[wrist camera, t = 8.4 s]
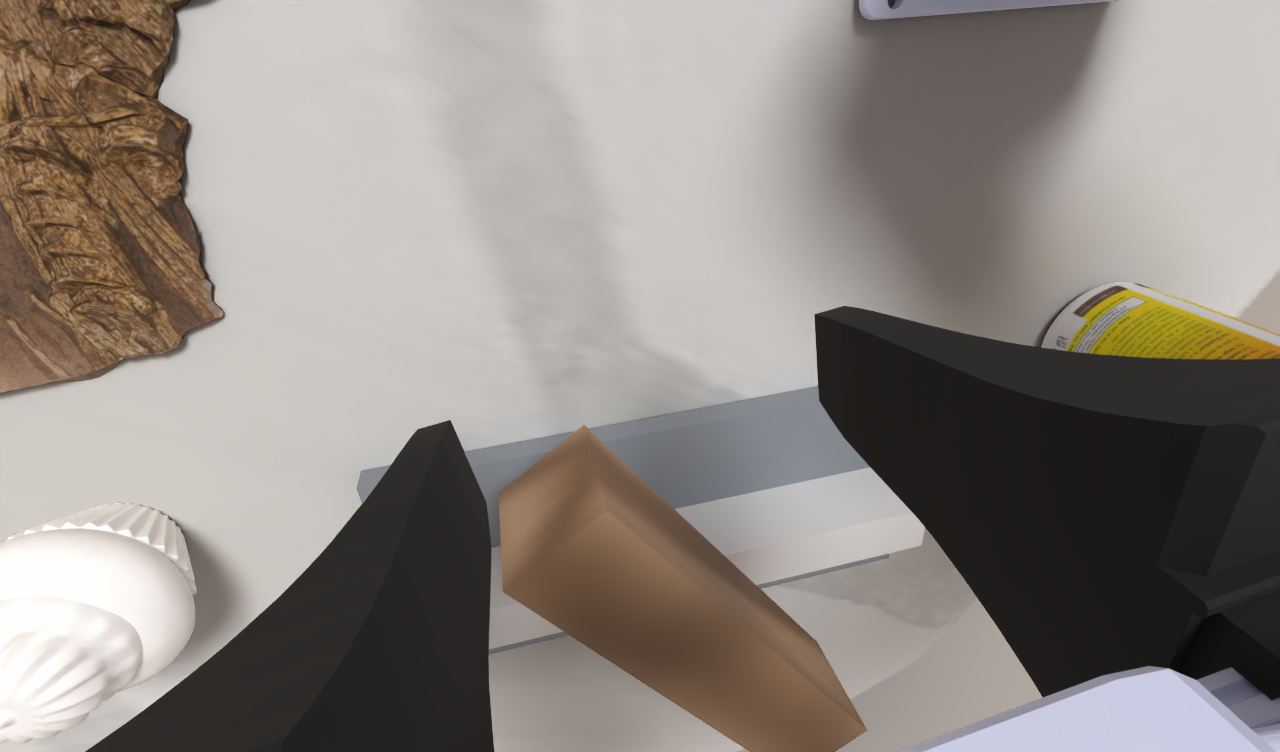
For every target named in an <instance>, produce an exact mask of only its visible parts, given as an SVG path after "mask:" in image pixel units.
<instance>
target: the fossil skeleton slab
mask: <svg viewBox="0 0 1280 752" xmlns="http://www.w3.org/2000/svg"><path fill="white" fill-rule="evenodd" d="M190 1H191V0H0V393H2V392H7V391H12V390H17V389H21V388H27V387H33V386H38V385H43V384H49V383H56V382H67V381H82V380H88V379H94V378H98V377H100V376H102V375H104V374H106V373H107V372H109V371H111V370H113V369H114V368H115V367H116V366H117V365H118V364H119V363H120V362H119V361H121V360H123V359H130V358H136V357H138V356H141V355H150V354H162V353H165V352H167V351H170V350H172V349H174V348H176V347H177V346H178V345H179V344H180V342H181V340H182V338H183V336H184V335H185V333H186V331H187V330H189V329H191V328H194V327H196V326H198V325H201V324H204V323H207V322H209V321H211V320H213V319H216V318H220V317H222V315H223V314H224V313H223V311H222V309H221V308H220V307H219V306H218V305H217V304H216V303H215V302H214V300H213V296H212V285H213V284H212V283H211V281H210V280H209V279H208V278H207V277H206V272H205V270H204V269H203V268H202V266H201V264H200V262H199V258H200V256H201V245H200V239H199V236H198V228H194V223H193V220H192V219H191V217H190V215H189V213H188V210H187V208H186V205H185V204H184V203H183V201H182V198H181V195H180V193H181V191H182V190H183V189H182V186H181V184H180V181H179V179H180V178H181V176H182V174H183V172H184V171H185V169H186V168H185V164H184V160H183V145H184V143H185V139H186V135H187V130H188V120H187V119H186V118H184V117H182V116H181V115H179V114H177V113H176V112H174V111H173V110H171V109H169V108H168V107H166V106H165V105H163V104H162V103H160V102H159V101H158V90H159V87H160V85H161V83H162V81H163V68H164V67H165V66H166V65H167V64H168V61H169V56H170V52H171V48H172V44H173V28H174V26H175V24H176V21H177V20H176V18H175V16H174V9H177V8H179V7H182V6H184V5H186V4H188V3H189V2H190Z"/></svg>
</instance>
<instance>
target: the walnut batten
mask: <svg viewBox="0 0 1280 752" xmlns="http://www.w3.org/2000/svg"><path fill="white" fill-rule="evenodd" d="M499 515H500V539H501V562H502V586H503V592H504V593H505V594H507V595H508V596H510V597H511V598H513V599H515V600H516V601H518V602H519V603H521V604H522V605H524V606H525V607H527V608H528V609H530V610H532V611H533V612H535V613H536V614H538V615H539V616H541V617H542V618H544V619H546V620H547V621H549V622H550V623H552V624H553V625H555V626H556V627H558V628H559V629H561V630H563V631H564V632H566V633H567V634H569V635H570V636H572V637H573V638H575V639H576V640H578V641H580V642H581V643H583V644H584V645H586V646H587V647H589V648H590V649H592V650H593V651H595V652H597V653H598V654H600V655H601V656H603V657H604V658H606V659H607V660H609V661H611V662H612V663H614V664H615V665H617V666H618V667H620V668H621V669H623V670H624V671H626V672H628V673H629V674H631V675H632V676H634V677H635V678H637V679H638V680H640V681H641V682H643V683H645V684H646V685H648V686H649V687H651V688H652V689H654V690H655V691H657V692H659V693H660V694H662V695H663V696H665V697H666V698H668V699H669V700H671V701H672V702H674V703H676V704H677V705H679V706H680V707H682V708H683V709H685V710H686V711H688V712H689V713H691V714H693V715H694V716H696V717H697V718H699V719H700V720H702V721H703V722H705V723H706V724H708V725H710V726H711V727H713V728H714V729H716V730H717V731H719V732H720V733H722V734H724V735H725V736H727V737H728V738H730V739H731V740H733V741H734V742H736V743H737V744H739V745H741V746H742V747H744V748H745V749H747V750H748V751H750V752H835V751H837V750H838V749H840V748H841V747H843V746H844V745H846V744H847V743H849V742H850V741H852V740H853V739H855V738H856V737H858V736H859V735H861V734H863V733H864V732H865V731H867V729H866V727H865V726H864V724H863V722H862V720H861V719H860V717H859V715H858V713H857V712H856V710H855V708H854V706H853V705H852V703H851V701H850V699H849V697H848V696H847V694H846V692H845V690H844V689H843V687H842V685H841V683H840V682H839V680H838V678H837V676H836V675H835V673H834V671H833V669H832V667H831V666H830V664H829V662H828V660H827V659H826V657H825V655H824V653H823V652H822V650H821V648H820V646H819V645H818V643H817V641H815V640H814V639H813V638H812V637H811V636H810V635H809V634H808V633H807V632H806V631H805V630H804V629H803V628H801V627H800V626H799V625H798V624H797V623H796V622H795V621H794V620H793V619H792V618H791V617H790V616H789V615H788V614H786V613H785V612H784V611H783V610H782V609H781V608H780V607H779V606H778V605H777V604H776V603H775V602H774V601H772V600H771V599H770V598H769V597H768V596H767V595H766V594H765V593H764V592H763V591H762V590H761V589H760V588H759V587H757V586H756V585H755V584H754V583H753V582H752V581H751V580H750V579H749V578H748V577H747V576H746V575H745V574H743V573H742V572H741V571H740V570H739V569H738V568H737V567H736V566H735V565H734V564H733V563H732V562H731V561H730V560H728V559H727V558H726V557H725V556H724V555H723V554H722V553H721V552H720V551H719V550H718V549H717V548H716V547H714V546H713V545H712V544H711V543H710V542H709V541H708V540H707V539H706V538H705V537H704V536H703V535H702V534H701V533H699V532H698V531H697V530H696V529H695V528H694V527H693V526H692V525H691V524H690V523H689V522H688V521H687V520H685V519H684V518H683V517H682V516H681V515H680V514H679V513H678V512H677V511H676V510H675V509H674V508H673V507H672V506H670V505H669V504H668V503H667V502H666V501H665V500H664V499H663V498H662V497H661V496H660V495H659V494H658V493H656V492H655V491H654V490H653V489H652V488H651V487H650V486H649V485H648V484H647V483H646V482H645V481H644V480H643V479H641V478H640V477H639V476H638V475H637V474H636V473H635V472H634V471H633V470H632V469H631V468H630V467H629V466H627V465H626V464H625V463H624V462H623V461H622V460H621V459H620V458H619V457H618V456H617V455H616V454H615V453H614V452H612V451H611V450H610V449H609V448H608V447H607V446H606V445H605V444H604V443H603V442H602V441H601V440H600V439H598V438H597V437H596V436H595V435H594V434H593V433H592V432H591V431H590V430H589V429H588V428H587V427H586V426H585V425H583V426H582V427H581V428H580V429H578V430H577V431H576V432H575V433H573V434H572V435H571V436H570V437H568V438H567V439H566V440H565V441H563V442H562V443H561V444H560V445H558V446H557V447H556V448H555V449H553V450H552V451H551V452H550V453H548V454H547V455H546V456H545V457H543V458H542V459H541V460H540V461H538V462H537V463H536V464H535V465H533V466H532V467H531V468H530V469H528V470H527V471H526V472H525V473H523V474H522V475H521V476H519V477H518V478H517V479H516V480H514V481H513V482H512V483H511V484H509V485H508V486H507V487H506V488H504V489H503V490H502V491H501V492H499Z"/></svg>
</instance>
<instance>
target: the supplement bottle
mask: <svg viewBox="0 0 1280 752" xmlns="http://www.w3.org/2000/svg"><path fill="white" fill-rule="evenodd" d="M1041 348H1048V349H1055V350H1063V351H1070V352H1080V353H1090V354H1101V355H1115V356H1130V357H1144V358H1169V359H1274V358H1280V334H1278V333H1275V332H1272V331H1269V330H1267V329H1264V328H1261V327H1258V326H1256V325H1253V324H1250V323H1247V322H1244V321H1242V320H1239V319H1236V318H1234V317H1231V316H1228V315H1225V314H1223V313H1220V312H1217V311H1214V310H1211V309H1208V308H1205V307H1203V306H1200V305H1197V304H1195V303H1192V302H1189V301H1186V300H1184V299H1180V298H1177V297H1175V296H1172V295H1169V294H1166V293H1163V292H1160V291H1158V290H1155V289H1152V288H1149V287H1146V286H1143V285H1140V284H1136V283H1132V282H1112V283H1108V284H1104V285H1101V286H1098V287H1096V288H1093V289H1091V290H1089V291H1088V292H1086V293H1084V294H1083V295H1081V296H1079V297H1078V298H1077V299H1075V300H1074V301H1073V302H1071V303H1070V304H1069V305H1068V306H1067V307H1066V308H1065V309H1064V310H1063V311H1062V312H1061V313H1060V314H1059V315H1058V317H1057V318H1056V319H1055V321H1054V322H1053V323H1052V325H1051V326H1050V328H1049V330H1048V331H1047V334H1046V336H1045V338H1044V340H1043V343H1042V346H1041Z"/></svg>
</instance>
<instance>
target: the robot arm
mask: <svg viewBox="0 0 1280 752" xmlns="http://www.w3.org/2000/svg"><path fill="white" fill-rule="evenodd" d="M1110 1H1117V0H896V1H895V4H894V5H893V7H892V8H890V7H889V5H888V0H859V10H860V12H861V14H862V16H863V17H865V18H866V19H869V20H879V19H892V18H905V17H917V16H930V15H943V14H956V13H969V12H982V11H994V10H1007V9H1020V8H1033V7H1046V6H1059V5H1071V4H1084V3H1097V2H1110ZM815 330H816V350H817V369H818V389H819V401H820V403H821V404H822V406H823V408H824V409H825V411H826V412H827V414H828V415H829V417H830V418H831V420H832V421H833V423H834V424H835V426H836V427H837V429H838V430H839V431H840V433H841V434H842V436H843V437H844V438H845V440H846V441H847V442H848V443H849V444H850V445H851V446H852V448H853V449H854V450H855V451H856V452H857V453H858V454H859V455H860V456H861V457H862V459H863V460H864V461H865V462H866V463H867V464H868V465H869V466H870V467H871V468H872V470H873V471H874V472H875V473H876V474H877V475H878V476H879V477H880V478H881V479H882V480H883V481H884V482H885V484H886V485H887V486H888V487H889V488H890V489H891V490H892V491H893V492H894V493H895V494H896V495H897V496H898V498H899V499H900V500H901V501H902V502H903V503H904V504H905V505H906V506H907V507H908V508H909V509H910V511H911V512H912V513H913V514H914V515H915V516H916V517H917V518H918V519H919V521H920V522H921V523H922V524H923V525H924V526H925V528H926V529H927V530H928V531H929V532H930V534H931V535H932V536H933V537H934V539H935V540H936V541H937V543H938V544H939V545H940V547H941V548H942V549H943V551H944V552H945V554H946V555H947V556H948V558H949V559H950V560H951V562H952V563H953V564H954V566H955V567H956V568H957V570H958V571H959V572H960V574H961V575H962V576H963V578H964V579H965V581H966V582H967V584H968V585H969V586H970V588H971V589H972V591H973V592H974V594H975V595H976V596H977V598H978V599H979V601H980V602H981V603H982V605H983V606H984V608H985V609H986V611H987V612H988V614H989V615H990V617H991V618H992V619H993V621H994V622H995V624H996V625H997V627H998V628H999V630H1000V631H1001V633H1002V634H1003V636H1004V637H1005V639H1006V641H1007V642H1008V644H1009V645H1010V646H1011V648H1012V650H1013V651H1014V653H1015V654H1016V656H1017V657H1018V659H1019V660H1020V662H1021V663H1022V665H1023V666H1024V668H1025V670H1026V671H1027V673H1028V674H1029V676H1030V677H1031V679H1032V680H1033V682H1034V683H1035V685H1036V687H1037V689H1038V690H1039V692H1040V693H1041V695H1042V697H1043V698H1041V699H1038V700H1036V701H1033V702H1030V703H1027V704H1025V705H1022V706H1020V707H1016V708H1014V709H1011V710H1009V711H1006V712H1003V713H1000V714H998V715H995V716H992V717H990V718H987V719H984V720H982V721H979V722H976V723H973V724H971V725H968V726H965V727H963V728H960V729H957V730H955V731H952V732H949V733H946V734H944V735H941V736H938V737H936V738H933V739H930V740H927V741H925V742H922V743H920V744H917V745H914V746H911V747H909V748H906V749H903V750H901V751H898V752H1280V358H1274V359H1169V358H1144V357H1130V356H1115V355H1101V354H1090V353H1080V352H1070V351H1063V350H1055V349H1048V348H1040V347H1033V346H1026V345H1020V344H1014V343H1008V342H1003V341H998V340H993V339H988V338H983V337H978V336H973V335H968V334H964V333H959V332H955V331H950V330H946V329H942V328H938V327H934V326H930V325H926V324H922V323H918V322H914V321H910V320H906V319H902V318H898V317H894V316H890V315H886V314H882V313H878V312H874V311H869V310H865V309H860V308H854V307H847V306H842V307H839V308H835V309H832V310H828V311H825V312H821V313H818V314H815ZM491 553H492V548H491V538H490V528H489V519H488V511H487V503H486V500H485V498H484V496H483V493H482V491H481V489H480V487H479V484H478V482H477V480H476V477H475V475H474V473H473V471H472V468H471V466H470V464H469V461H468V459H467V457H466V455H465V452H464V450H463V448H462V446H461V443H460V441H459V439H458V436H457V434H456V432H455V430H454V427H453V425H452V423H451V421H450V420H449V421H445V422H442V423H438V424H435V425H432V426H428V427H425V428H421V429H418V430H417V431H416V432H415V433H414V434H413V436H412V437H411V438H410V440H409V441H408V442H407V444H406V445H405V446H404V448H403V449H402V451H401V452H400V453H399V455H398V456H397V458H396V459H395V460H394V462H393V463H392V465H391V466H390V467H389V469H388V470H387V471H386V473H385V474H384V476H383V477H382V478H381V480H380V481H379V482H378V484H377V485H376V486H375V488H374V489H373V491H372V492H371V493H370V495H369V496H368V497H367V499H366V500H365V501H364V503H363V504H362V505H361V506H360V507H359V509H358V510H357V511H356V512H355V514H354V515H353V516H352V517H351V519H350V520H349V521H348V522H347V523H346V525H345V526H344V527H343V528H342V530H341V531H340V532H339V533H338V534H337V536H336V537H335V538H334V539H333V541H332V542H331V543H330V544H329V545H328V546H327V548H326V549H325V550H324V551H323V552H322V553H321V554H320V555H319V557H318V558H317V559H316V560H315V561H314V562H313V563H312V564H311V565H310V566H309V567H308V568H307V569H306V570H305V571H304V572H303V574H302V575H301V576H300V577H299V578H298V579H297V580H296V581H295V582H294V583H293V584H292V585H291V586H290V587H289V588H288V589H287V590H286V591H285V592H284V593H283V594H282V595H281V596H280V597H279V598H278V599H277V600H276V601H275V602H273V603H272V604H271V605H270V606H269V607H268V608H267V609H266V610H265V611H263V612H262V613H261V614H260V615H259V616H258V617H257V618H256V619H255V620H253V621H252V622H251V623H250V624H249V625H248V626H247V627H246V628H245V629H243V630H242V631H241V632H240V633H239V634H238V635H237V636H236V637H235V638H233V639H232V640H231V641H230V642H229V643H228V644H227V645H226V646H224V647H223V648H222V649H221V650H220V651H219V652H217V653H216V654H215V655H214V656H213V657H211V658H210V659H209V660H208V661H206V662H205V663H204V664H203V665H201V666H200V667H199V668H198V669H197V670H195V671H194V672H193V673H192V674H190V675H189V676H188V677H187V678H185V679H184V680H183V681H181V682H180V683H179V684H178V685H176V686H175V687H174V688H172V689H171V690H170V691H168V692H167V693H166V694H165V695H163V696H162V697H161V698H159V699H158V700H157V701H156V702H154V703H153V704H152V705H150V706H149V707H148V708H146V709H145V710H144V711H142V712H141V713H139V714H138V715H137V716H135V717H134V718H133V719H131V720H130V721H129V722H127V723H126V724H124V725H123V726H121V727H120V728H119V729H117V730H116V731H114V732H113V733H111V734H110V735H109V736H107V737H106V738H104V739H103V740H101V741H100V742H99V743H97V744H96V745H94V746H93V747H91V748H90V749H88V750H87V751H86V752H494V745H493V733H492V720H491V706H490V693H489V664H488V656H489V624H490V594H491Z"/></svg>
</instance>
